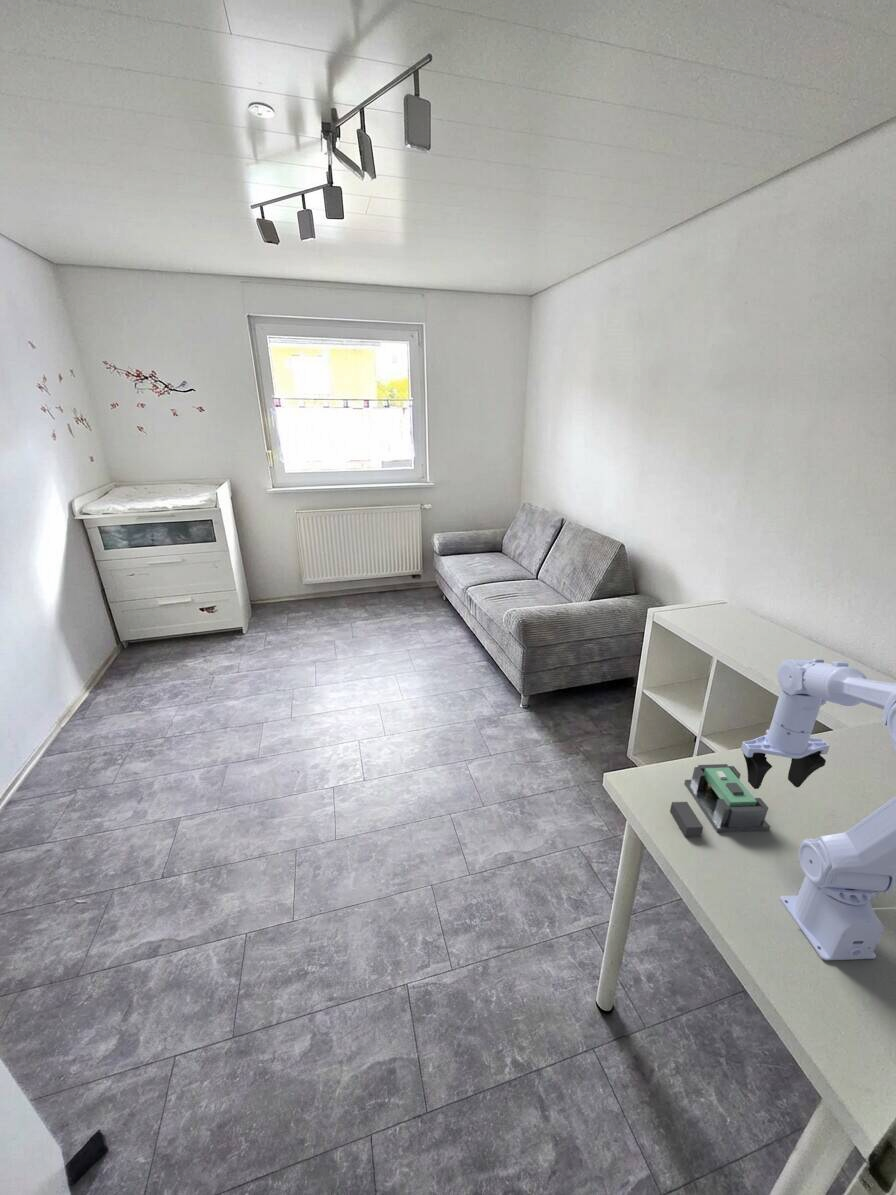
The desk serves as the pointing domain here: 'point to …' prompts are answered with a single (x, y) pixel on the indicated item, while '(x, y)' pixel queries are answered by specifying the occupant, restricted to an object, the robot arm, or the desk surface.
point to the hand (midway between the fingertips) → (773, 784)
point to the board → (729, 787)
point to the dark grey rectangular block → (686, 819)
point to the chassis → (725, 805)
